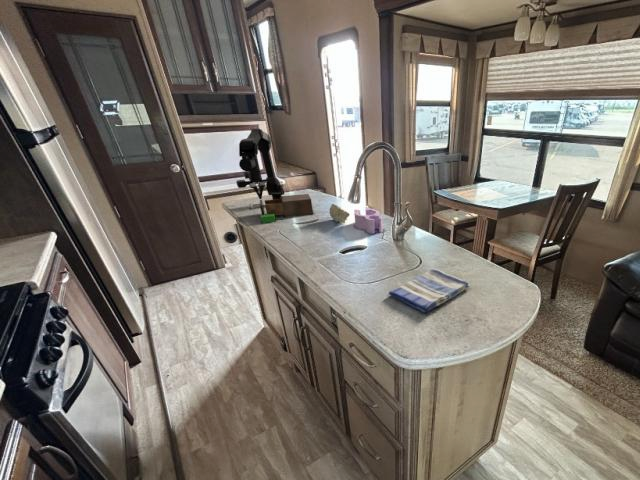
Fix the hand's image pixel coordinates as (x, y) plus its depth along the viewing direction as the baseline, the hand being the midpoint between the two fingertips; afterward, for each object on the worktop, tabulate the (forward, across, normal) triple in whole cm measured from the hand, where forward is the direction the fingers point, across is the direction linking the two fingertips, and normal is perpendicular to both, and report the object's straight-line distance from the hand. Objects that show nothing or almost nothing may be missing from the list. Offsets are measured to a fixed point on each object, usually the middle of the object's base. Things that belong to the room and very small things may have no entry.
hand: (260, 199), depth 170 cm
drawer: (+10, -5, -7) cm, 13 cm away
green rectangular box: (+11, -1, +3) cm, 12 cm away
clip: (+12, -44, +40) cm, 61 cm away
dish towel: (+12, -32, +110) cm, 115 cm away
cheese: (+12, -36, +26) cm, 45 cm away
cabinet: (+11, -19, -4) cm, 23 cm away
